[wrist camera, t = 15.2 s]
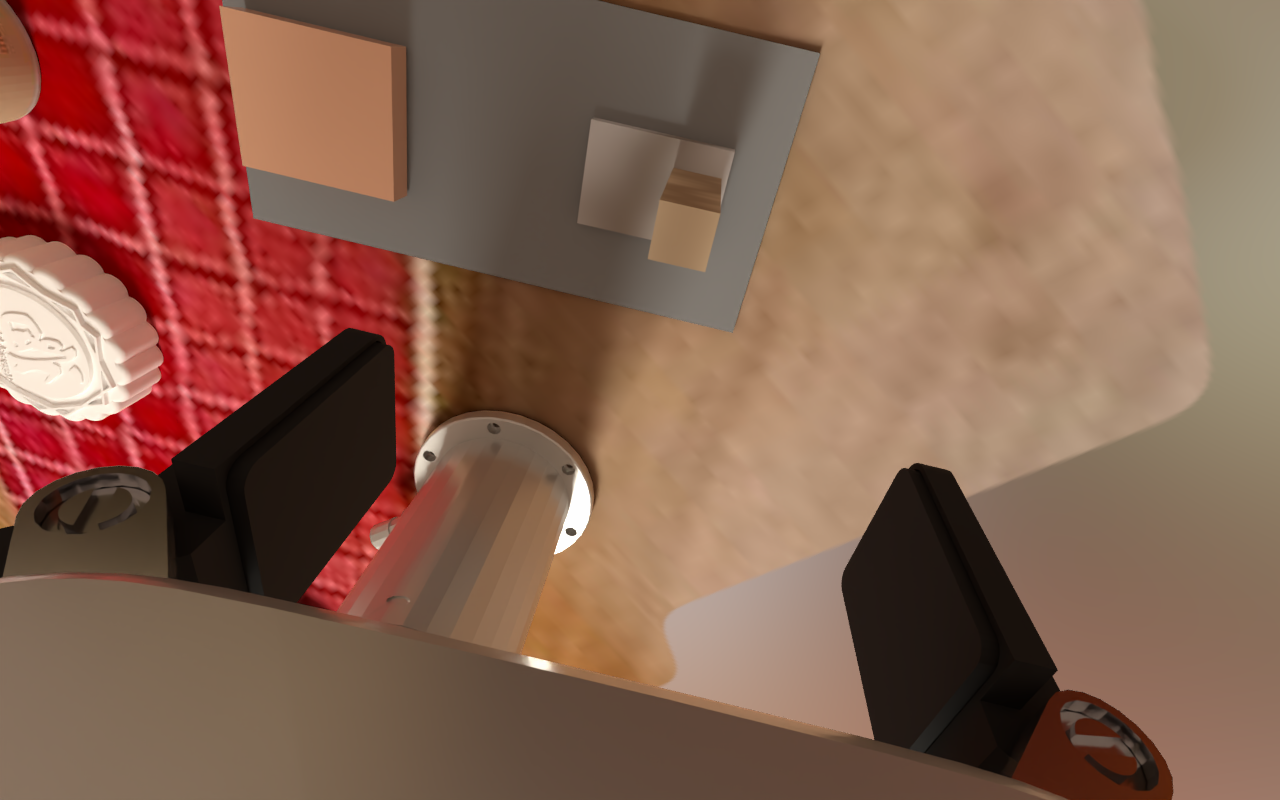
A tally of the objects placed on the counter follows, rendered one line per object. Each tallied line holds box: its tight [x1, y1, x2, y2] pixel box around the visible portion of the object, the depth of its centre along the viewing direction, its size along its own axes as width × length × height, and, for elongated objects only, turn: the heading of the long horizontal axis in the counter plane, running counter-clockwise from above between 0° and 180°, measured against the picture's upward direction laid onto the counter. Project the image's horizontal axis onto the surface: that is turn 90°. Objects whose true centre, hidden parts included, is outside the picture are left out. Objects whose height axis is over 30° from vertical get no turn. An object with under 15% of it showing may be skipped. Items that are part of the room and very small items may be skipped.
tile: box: [219, 6, 407, 202], centre depth 30 cm, size 2×7×8 cm
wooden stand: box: [577, 117, 735, 272], centre depth 27 cm, size 7×5×8 cm
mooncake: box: [0, 235, 163, 421], centre depth 38 cm, size 12×12×4 cm
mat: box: [222, 0, 820, 333], centre depth 30 cm, size 28×14×1 cm, turn 79°
